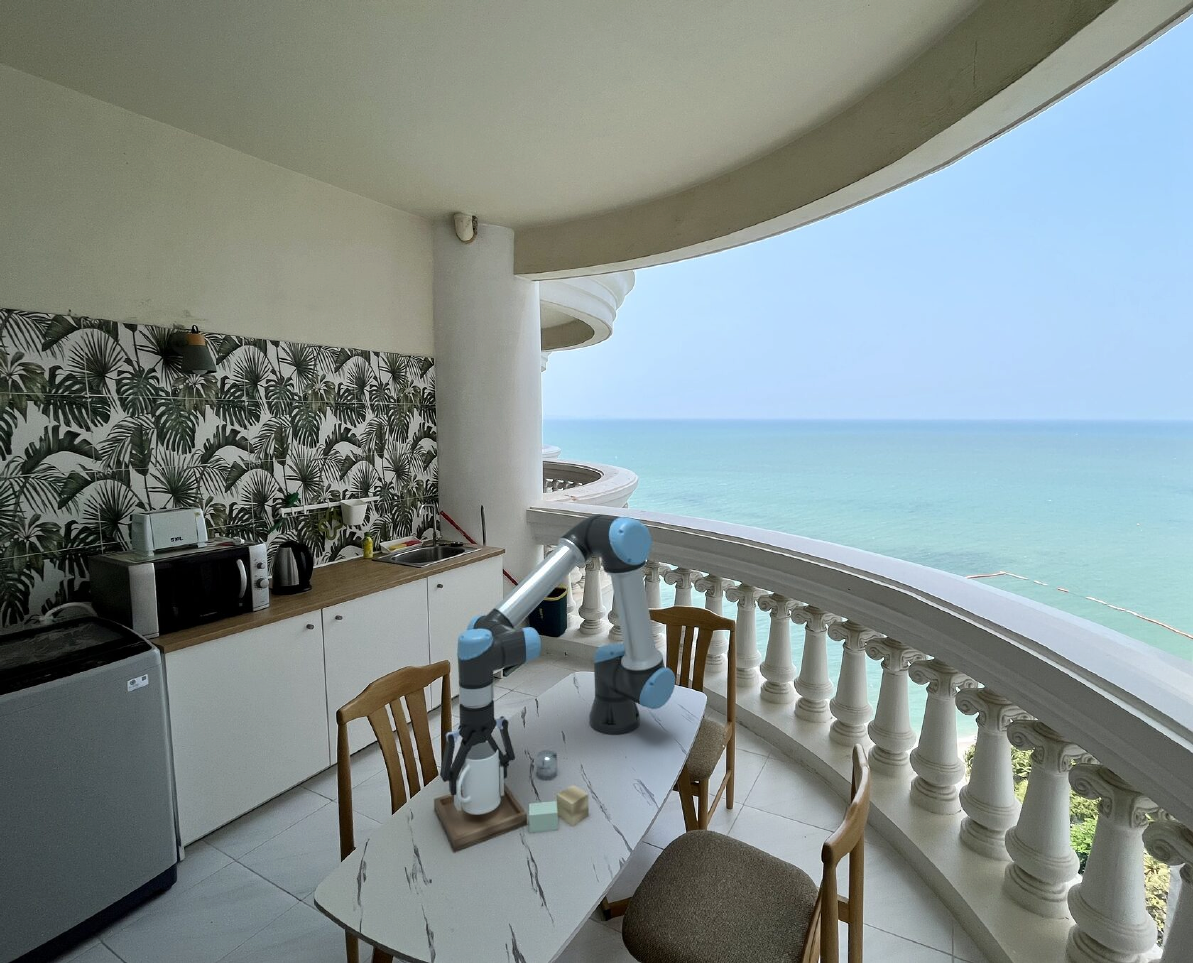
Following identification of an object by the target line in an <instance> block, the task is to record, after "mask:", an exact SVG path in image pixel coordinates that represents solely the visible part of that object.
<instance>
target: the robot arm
mask: <svg viewBox="0 0 1193 963" xmlns="http://www.w3.org/2000/svg"><path fill="white" fill-rule="evenodd" d="M652 541H653V540H652V537H651V534H650V531H649V529H648V527H647V526H646V525H645V524H644V523H642V522H641V521H640V520H637V519H635V518H631V517H628V516H614V515H605V514H595V515H591V516H588V517H586V518H585V519H582V520H581V521H579V522H578V523H576V524H574V526H572V527H571V528H570V529H568V530H567V531H566V532H565V533H564V534H563V535H562V536H561V537H560V538H559V539H558V541H557V546H556V547H555V548H554V549H553V550H552V551H551V552H550V553H549V554H548V555H547V556H546V557H545V558H544V559H543V560H542V561H541V562H540V563H539V564H537V566H536V567H534V568H533V569H532V570H531V572H529V573H528V575H526V576H525V577H524V578H523V579H522V580H521V582H519V584H517V585H516V586H515V587H514V588H513V589H512V590H511V591H510V592H509V593H507V595H506V596H505V597H504V598H503V599H502V600H500V601H499V603H498V604H496V606H495V607H494V608H493V609H491V611H489V612H488V613H487V614H486V615H485V614H481V615H477V616H474V617H473V618H472V619H471V620H470V621H469V622H468V625H467V628H466V630H465V631H463V632H461V633H460V634H459V636H458V639H457V652H456V656H457V669H458V701H459V707H458V708H459V711H458V712H459V726H458V728H457V729H455V730H453V731H450V730H447V731H445V741H446V742H445V747H444V751H443V757H442V763H441V767H440V771H439V775H440V778H441V780H442V781H443V782H444V783H446V782H448V788H449V789H448V790H449V791H448V792H449V794H451V795H452V796H453V795H454V805H455V807H456V809H457V811H459V810H461V801H460V800H459V798H458V794H457V787H458V782H459V778H460V777H459V775H460V772H462V766H463V763H464V761H465V759H466V756H467V754H468V752H469V751H470V750H471V747H472V746H474V745H477V744H479V743H485V742H488V743H489V744H490V746H491V748H492V749H493V751H494V752H495V753H496V751H497V750H498V755H499V794H500V796H503V795H504V783H505V781H504V780H505V779H507V778H508V767H509V766H510V762H512V761H514V760H515V759H516V755H515V752H514V749H513V748H514V747H513V744H512V740H511V737H510V733H509V721H508V719H507V718H506V717H505V716H503V715H502V716H500V718H495V701H494V698H495V694H494V692H495V691H494V672H495V671H499V670H501V669H505V668H509V667H512V666H516V665H519V664H524V663H525V664H526V663H527V662H529V661H533V660H535V659H537V658H538V657H539V656H540V654H541V651H542V640H541V637H540V634H539V633H538V631H537V630H536V629H535V628H534V627H530V626H529V627H520V628H518V626H519V625H520V624H521V623H522V622H524V620H525V619H526V618H527V617H528V616H529V615H530V614H531V613H532V612H533V611H534V610H535V609H536V608H537V607H538V606H539V605H540V603H541V602H543V601H544V599H546V598H547V597H548V596H549V595H550V594H551V593H552V592H553V590H555V588H557V587H558V586H559V585H560V583H562V581H564V579H565V578H566V577H567V576H568V575H569V574H570V573H571V572H572V571H573V570H574V569H575V568H576V567H577V566H583V565H584V564H585V563H586V562H587V561H588V560H590V559H591V558H594V557H596V558H601V563H602V568H603V572H604V573H605V574H607V575H609V576H610V580H611V585H612V591H613V596H614V600H615V606H616V607H615V608H616V613H617V617H618V622H619V627H620V633H621V639H622V643H621V642H620V643H619V642H617V643H608V644H605V645H602V646H599V647H597V649H596V650H595V651H594V657H593V658H594V660H593V665H594V666H593V668H594V669H593V671H594V699H593V703H592V706H591V709H590V711H589V725H590V727H591V728H592V729H594V730H595V731H597V732H599V733H603V734H608V735H621V734H622V735H623V734H627V733H630V732H632V731H635V730H636V729H637V728H638V727H639V726H640V723H641V720H640V719H641V715H640V714H641V713H640V711H639V709H638V706H637V704H638V705H640V706H641V707H644V708H648V709H651V710H657V709H660V708H662V707H663V706H665V705H666V704H667V703H668V702H669V701H670V698H671V697H672V694H673V693H674V691H675V687H676V676H675V673H674V672H673V670H671V668H669V667H666V666H665V663H664V662H665V661H664V658H663V654H662V652H661V651H660V650H659V649H658V648H656V642H655V637H654V632H653V625H652V620H651V619H652V618H651V615H650V609H649V604H648V599H647V593H646V586H645V580H644V574H643V569H644V568H645V566H646V565H647V559H648V558H649V556H650V554H651V552H650V550H651V551H652V545H653V544H652ZM516 628H518V629H516ZM496 727H497V729H498V730H499V732H500V736H501V740H502V743H503V747H504V751H505V754H503V752H502V750H501V748H500V747H499V745H498V744H497V742H496V741H495V739H494V737H493V735H492V733H493V732H494V730H495V728H496ZM459 737H461V741H460V745H459V748H458V750H457V752H456V755H455V757H454V752H455V748H456V743H457V741H458V738H459Z"/></svg>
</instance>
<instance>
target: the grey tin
mask: <svg viewBox="0 0 1193 963" xmlns="http://www.w3.org/2000/svg"><path fill="white" fill-rule="evenodd" d="M536 773H537V774H536V776H537V779H540V780H541V781H551V780H554V779H555V778H556V777H557V776H558V754H557V752H556V751H554V750H551V749H544V750H541V751H540V752H538V753H537V755H536Z"/></svg>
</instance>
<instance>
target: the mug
mask: <svg viewBox="0 0 1193 963" xmlns="http://www.w3.org/2000/svg"><path fill="white" fill-rule="evenodd" d="M499 762H500V760H499V755H498V750H497V751H496V753H495V752H494V751H493V749H492V748H491V746H490V744H489V743H488V741H486V742H485V743H479V744H477V745H474V746H472V747H471V750H470V751H469V752H468V754H467V756H466V759H465V761H464V763H463V766H462V768H461V774H460V776H459V777H458V778H459V782H458V787H457V794H458V798H459V800H460V801H461V802H462V808H463V810H464V811H465V812H467V813H469V814H474V815H480V814H485V813H488V812H491V811H493V810H494V809H496V808H497V807H498V805H499V804H500V801H501V798H500V794H499ZM461 790H463V798H462V796H461Z"/></svg>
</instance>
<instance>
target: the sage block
mask: <svg viewBox="0 0 1193 963" xmlns="http://www.w3.org/2000/svg"><path fill="white" fill-rule="evenodd" d="M528 808H529V809H528V810H529V811H528V812H529V834H531V833H532V834H533V833H542V832H551V831H558V830H559V826H558V825H559V823H558V821H559V820H558V818H559V817H558V814H557V800H556V801H555V800H554V801H545V802H542V801H541V802H535V803H529V804H528Z"/></svg>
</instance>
